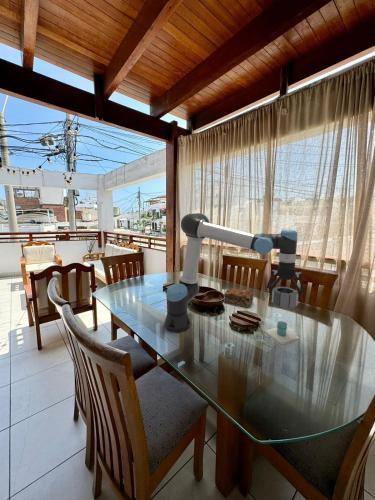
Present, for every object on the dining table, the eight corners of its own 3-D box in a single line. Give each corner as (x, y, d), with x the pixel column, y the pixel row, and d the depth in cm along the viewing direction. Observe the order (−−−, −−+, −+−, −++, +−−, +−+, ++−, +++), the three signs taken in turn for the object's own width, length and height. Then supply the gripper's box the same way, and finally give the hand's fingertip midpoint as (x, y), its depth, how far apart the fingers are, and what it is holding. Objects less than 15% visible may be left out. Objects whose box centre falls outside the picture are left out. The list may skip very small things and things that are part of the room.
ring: (284, 309, 105) (285, 295, 103) (268, 301, 114) (269, 288, 113) (300, 305, 108) (301, 292, 107) (284, 298, 118) (285, 285, 117)
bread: (253, 303, 155) (254, 290, 153) (248, 309, 146) (249, 295, 144) (228, 298, 164) (229, 285, 163) (223, 303, 156) (223, 290, 154)
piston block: (281, 344, 107) (282, 331, 106) (264, 332, 118) (265, 320, 117) (299, 339, 111) (300, 326, 110) (281, 327, 122) (282, 316, 121)
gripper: (261, 261, 108) (260, 302, 112) (314, 265, 99) (310, 309, 103) (263, 258, 115) (261, 297, 119) (312, 261, 106) (308, 303, 110)
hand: (284, 303), depth 111 cm, fingers closed on ring, 10 cm apart
